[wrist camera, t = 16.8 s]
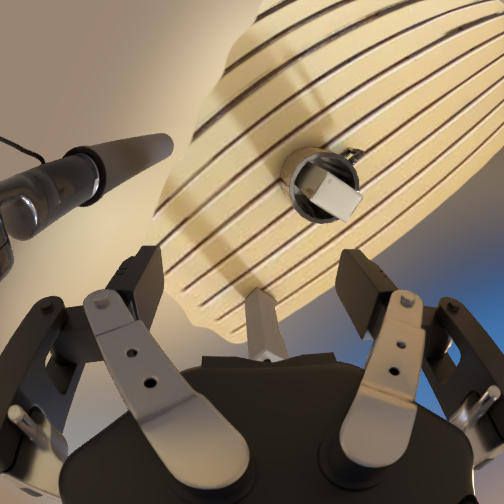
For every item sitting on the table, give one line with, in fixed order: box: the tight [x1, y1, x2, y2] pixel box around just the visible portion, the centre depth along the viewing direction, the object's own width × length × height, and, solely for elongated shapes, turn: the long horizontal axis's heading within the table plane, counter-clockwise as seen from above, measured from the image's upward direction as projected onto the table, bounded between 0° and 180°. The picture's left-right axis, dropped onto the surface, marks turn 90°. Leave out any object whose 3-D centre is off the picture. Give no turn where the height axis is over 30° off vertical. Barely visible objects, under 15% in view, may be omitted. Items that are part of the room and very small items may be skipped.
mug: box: [280, 147, 365, 224], centre depth 40 cm, size 14×10×8 cm
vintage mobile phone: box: [245, 288, 289, 362], centre depth 43 cm, size 4×5×25 cm
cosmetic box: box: [295, 162, 363, 222], centre depth 38 cm, size 6×4×12 cm
